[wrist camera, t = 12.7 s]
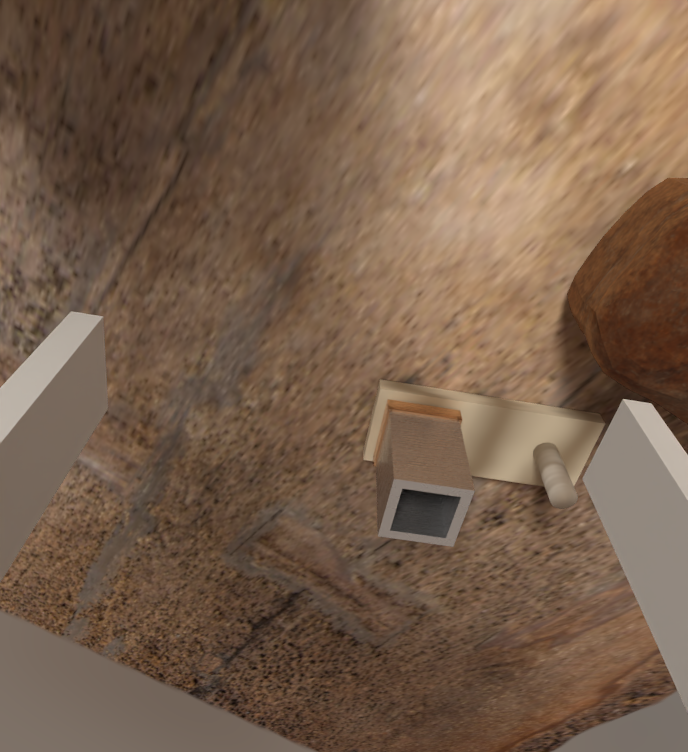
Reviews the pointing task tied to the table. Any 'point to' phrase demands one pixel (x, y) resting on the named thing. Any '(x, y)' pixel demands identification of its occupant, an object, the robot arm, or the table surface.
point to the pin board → (507, 436)
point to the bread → (641, 298)
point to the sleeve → (421, 474)
